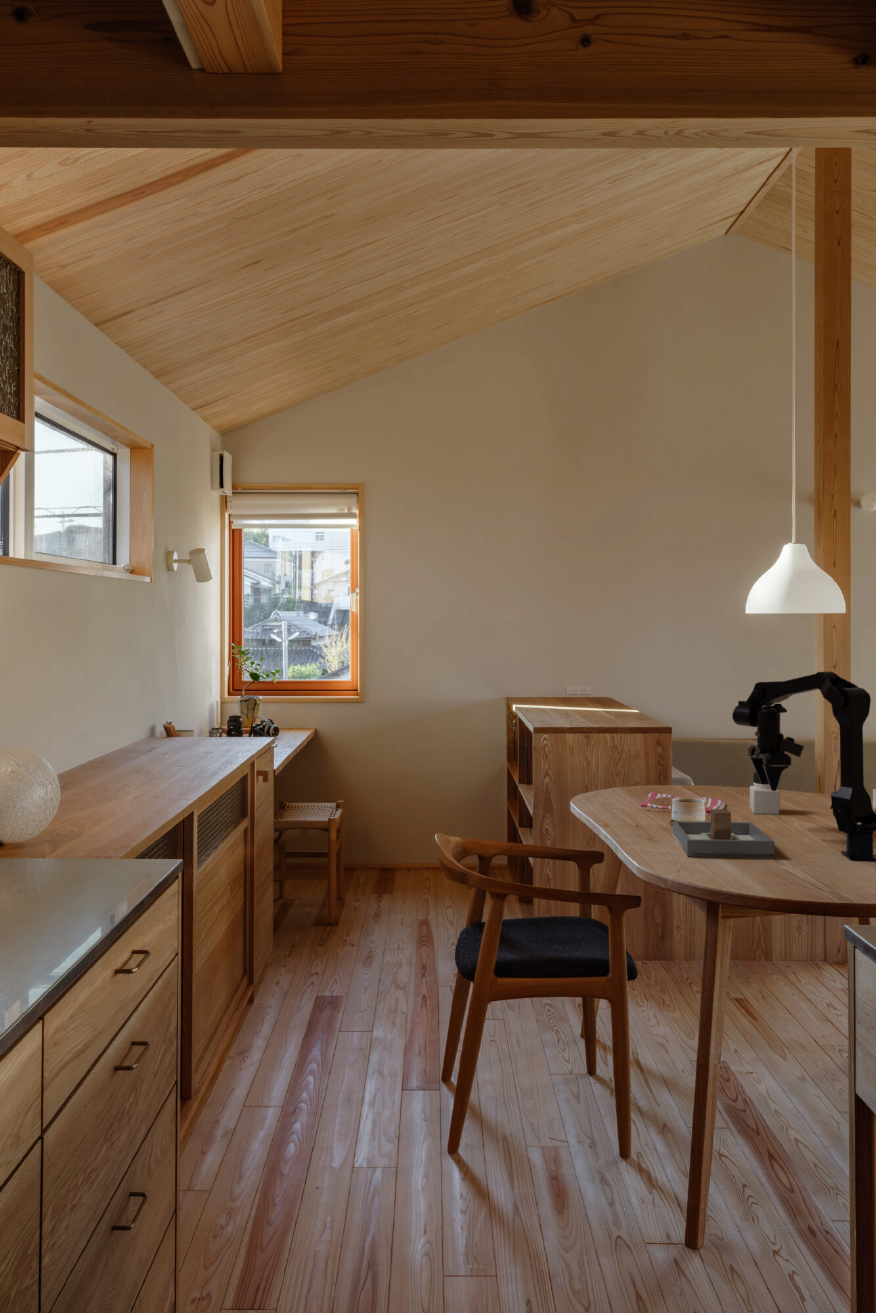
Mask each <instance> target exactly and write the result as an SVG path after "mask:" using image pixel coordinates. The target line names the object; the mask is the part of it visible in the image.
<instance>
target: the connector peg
mask: <svg viewBox="0 0 876 1313" xmlns="http://www.w3.org/2000/svg"><path fill="white" fill-rule="evenodd" d="M710 822H711V840H731V822H732V812H731V811H730V810H729V809H725V808H724V809H711V815H710Z"/></svg>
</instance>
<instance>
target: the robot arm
mask: <svg viewBox="0 0 876 1313" xmlns="http://www.w3.org/2000/svg"><path fill="white" fill-rule="evenodd" d="M817 690H818V691H820V693H821V695H822V697H823V699H825V700H826V701H827V702H828V703H830V704H831V710H832V715H833V717H834V719H835V720H836V722H837V723H838V726H839V761H840V762H839V765H840V766H839V767H840V768H839V769H840V771H839V772H840V785H839V787H838V789H837V790H836V791H831V794H830V799H831V800H830V801H831V804H830V808H829V809H830V810H832V814H833V817H834V818H835V822H836V825H837V828H838V831H839V832H843V833H844V834H846V838H845V840H846V842H845V843H846V844H845V845H846V850H840V853H841V854H842V855H843V856H844V857H846V858H847V859H849V860H851V861H876V855H875V853H874V843H875V842H874V841H875V840H874V839H875V838H874V836H875V835H874V832H876V812H875V811H874V809H873V805H872V799H871V796H870V794H869V793H868V791H867V790H866V787H865V784H864V730H863V728H864V724H865V722H866V720H867V718H868V716H869V715H870V711H871V710H870V709H871V701H872V699H871V695H870V693H869V692H868V691H867V690H865V688H862V687H859V686H858V685H857V684H855V683H853V682H851V681H848V680H846V679H845V678H843V677H841V676H839V675H838V674H837V673H835V672H833V671H818V672H816V673H813V674H809V675H805V676H800V677H797V678H796V677H795V678H791V679H788V680H783V681H782V680H781V681H780V680H778V681H777V680H774V681H758V682H756V683H755V684H754V686H753V689H752V691H751V693H750V695H749V696H748V697H747V700H738V702H737V705H736V706H735V708H734V709H733V712H732V714H731V716H732V720H733V722H734V724H736V725H738V726H744V727H751V728H756V731H754V735H755V736H756V738H757V739H756V745H755V744H751V745H750V746H749V747H748V748H747V756H748V757H749V760H750V761H751V763H752V766H753V768H754V770H755V772H757V775H758V777H759V779H760V781H761V784H763V785H765V784H766V782H767V779H768V782H769V785H770V788H771V790H772V791H776V790H777V789H778V787H779V786H778V785H779V782H780V779H781V777H782V776H781V775H782V773H783V772H784V770H786V769H788V768H789V767H790V766H792V757H791V756H790V755H793V756H795V757H797V758H801V756H802V752H803V750H804V749H805V748H804V747H805V746H804V745H801V744H799V743H796V742H795V739H794V738H793V737H790V736H786V737H784V734H783V733H782V732H781V714H785V713H787V712H788V709H786V708H785V707H784V706H783V705H782V703H781V702H784V701H786V700H788V699H789V698H790V697H792V696H794V695H797V694H803V693H807V692H812V691H817ZM787 753H788V754H787ZM789 754H790V755H789Z"/></svg>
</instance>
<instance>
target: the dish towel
mask: <svg viewBox="0 0 876 1313" xmlns="http://www.w3.org/2000/svg"><path fill="white" fill-rule="evenodd" d="M648 797H649V798H648ZM662 797H671V799H673V798H674V797H676V796H674V795H671V794H664V793H656V792H655V791H651V792H650V793H649V794H648V796H647V798H648V800H647V799H646V800H645V801H641V803H640V808H643V807H652V808H658V809H669V810H670V809H671V806H659V805H654V804H650V801H652V799H657V798H662ZM677 797H680V796H677ZM699 797H700V798H702V799H704V801H705V803H706V807H705V809H706V815H705V816H711V809H725V807H726V803H725V802H726V801H724V800H721V799H717V798H712V797H705V796H702V797H701V796H699Z"/></svg>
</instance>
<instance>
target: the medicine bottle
mask: <svg viewBox="0 0 876 1313" xmlns="http://www.w3.org/2000/svg"><path fill="white" fill-rule="evenodd" d="M752 777H753V778H752V779H753V782H752V783H753V785H750V786H749V809H750V811H751V812H752V813H753V814H754V815H773V816H775V815H777V816H779V815H780V790H779V789H778V788H777V790H776V791H772V790H771V788H770V785H769V782H768V779H767V782H766V784H765V785H763V784H761V781H760V779H759V777H758V775H757V772H756V771H754V772H753V776H752Z"/></svg>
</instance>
